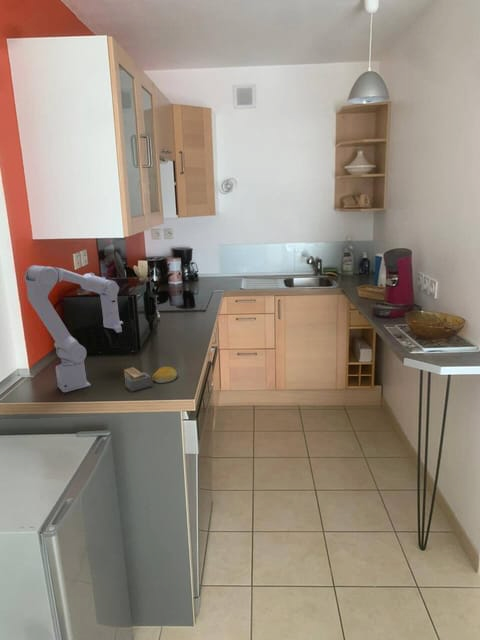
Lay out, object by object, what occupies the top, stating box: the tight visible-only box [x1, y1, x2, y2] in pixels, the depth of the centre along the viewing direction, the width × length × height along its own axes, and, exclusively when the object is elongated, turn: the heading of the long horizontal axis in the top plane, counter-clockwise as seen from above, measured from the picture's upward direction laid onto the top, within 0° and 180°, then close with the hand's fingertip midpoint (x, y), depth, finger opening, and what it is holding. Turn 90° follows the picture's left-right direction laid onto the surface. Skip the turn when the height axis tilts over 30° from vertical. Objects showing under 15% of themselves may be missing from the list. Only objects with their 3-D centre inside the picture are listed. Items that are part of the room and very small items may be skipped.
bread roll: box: [151, 366, 178, 384], centre depth 168 cm, size 8×9×4 cm
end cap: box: [124, 371, 153, 392], centre depth 162 cm, size 7×6×4 cm
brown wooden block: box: [123, 367, 144, 380], centre depth 165 cm, size 4×10×4 cm, turn 34°
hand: (114, 346), depth 177 cm, fingers closed
